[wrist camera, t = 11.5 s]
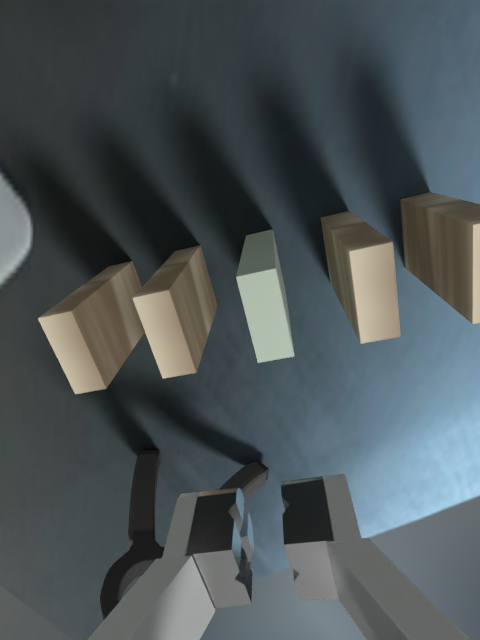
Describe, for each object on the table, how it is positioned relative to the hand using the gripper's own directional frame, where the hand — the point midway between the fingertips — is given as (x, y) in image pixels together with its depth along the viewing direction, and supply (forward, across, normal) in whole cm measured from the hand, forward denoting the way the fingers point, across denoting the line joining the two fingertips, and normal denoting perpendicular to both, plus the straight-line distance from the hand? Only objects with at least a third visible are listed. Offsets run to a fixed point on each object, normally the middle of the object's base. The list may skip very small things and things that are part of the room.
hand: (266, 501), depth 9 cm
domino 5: (+21, -11, 0) cm, 24 cm away
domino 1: (+21, +11, 0) cm, 24 cm away
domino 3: (+21, 0, 0) cm, 21 cm away
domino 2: (+21, +6, 0) cm, 22 cm away
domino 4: (+21, -6, 0) cm, 22 cm away
